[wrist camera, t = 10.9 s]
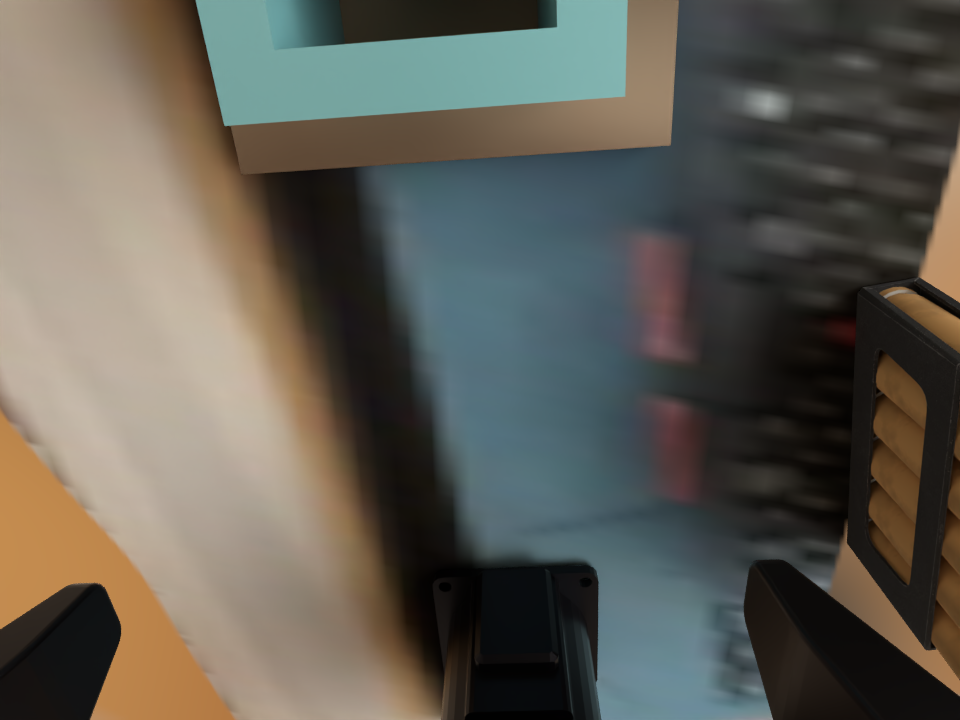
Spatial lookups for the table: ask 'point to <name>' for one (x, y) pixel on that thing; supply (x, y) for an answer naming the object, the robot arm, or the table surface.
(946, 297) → the ammunition clip
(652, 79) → the post base
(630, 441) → the table surface
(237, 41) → the collar
